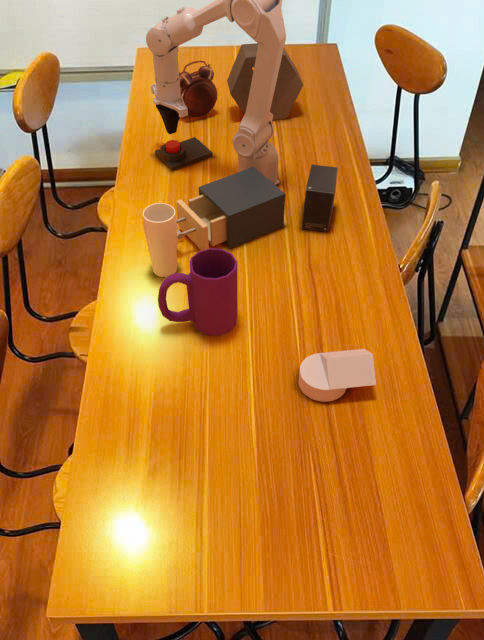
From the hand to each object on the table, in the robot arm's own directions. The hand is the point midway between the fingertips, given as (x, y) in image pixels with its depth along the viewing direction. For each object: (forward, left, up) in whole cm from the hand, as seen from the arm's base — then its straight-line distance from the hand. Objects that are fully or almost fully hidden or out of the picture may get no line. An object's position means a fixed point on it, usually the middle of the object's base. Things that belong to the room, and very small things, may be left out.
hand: (171, 132), depth 171 cm
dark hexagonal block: (-32, -6, -8) cm, 33 cm away
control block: (-3, 0, -8) cm, 8 cm away
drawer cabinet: (0, +32, -8) cm, 33 cm away
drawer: (+9, +32, -7) cm, 34 cm away
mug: (+25, +55, -8) cm, 61 cm away
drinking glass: (+23, +37, -8) cm, 44 cm away
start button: (0, 0, -5) cm, 5 cm away
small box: (-16, +40, -8) cm, 44 cm away
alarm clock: (-16, -15, -8) cm, 23 cm away
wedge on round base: (+12, +82, -8) cm, 83 cm away
